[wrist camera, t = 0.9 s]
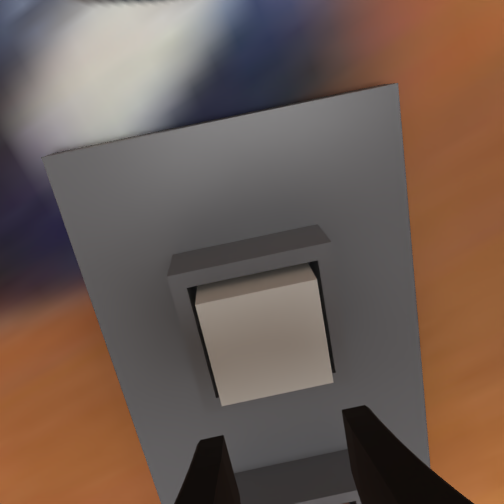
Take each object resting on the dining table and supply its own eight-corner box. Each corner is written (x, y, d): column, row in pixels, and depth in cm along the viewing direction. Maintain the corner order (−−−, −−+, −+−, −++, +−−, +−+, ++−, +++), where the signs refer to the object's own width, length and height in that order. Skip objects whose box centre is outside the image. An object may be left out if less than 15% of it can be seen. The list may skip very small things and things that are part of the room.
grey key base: (384, 84, 19) (426, 80, 15) (428, 558, 28) (461, 629, 24) (54, 153, 19) (13, 166, 15) (206, 605, 28) (205, 684, 24)
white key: (306, 260, 18) (316, 279, 16) (322, 354, 19) (333, 382, 18) (197, 283, 18) (195, 305, 16) (221, 376, 19) (221, 406, 18)
